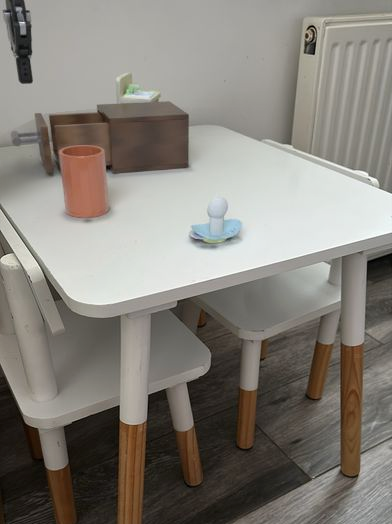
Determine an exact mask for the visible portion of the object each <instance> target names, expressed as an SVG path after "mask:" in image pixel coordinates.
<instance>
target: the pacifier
mask: <svg viewBox="0 0 392 524" xmlns="http://www.w3.org/2000/svg"><path fill="white" fill-rule="evenodd" d="M207 205H208V206H207V208H206V214H207V216H208V217H209V222H208V223H201V224H191V226H190V227H191V230H190V231H189V232H188V236H190V238H193V239H196V240H202V241H203V242H205V243H209V244H219V243H222V242H225V241H227V239H229V238H232V237H235V236H236V235H237V234H239V233H240V232H241V230H242V227H243V222H242V221H241V219H237V218H229V219H225V215H226V214H227V213H228V209H229V203H228V200H227V199H226V198H225V197H223V196H217V197H215V198H213V199H212V200H211V201H210V202H209V204H207Z"/></svg>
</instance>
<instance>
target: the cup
mask: <svg viewBox="0 0 392 524" xmlns="http://www.w3.org/2000/svg"><path fill="white" fill-rule="evenodd" d="M59 158H60V166H61V169H60V174H61V182H62V191H63V199H64V207H65V213H66V214H67V215H68V216H71V217H75V218H81V219H82V218H83V219H89V218H90V219H91V218H97V217H101V216H103V215H106V214H107V213H108V212H109V210H110V205H109V203H110V202H109V191H108V190H109V189H108V177H107V165H106V162H105V151H104V149H103V148H101V147H97V146H91V145H76V146H69V147H66V148H62V149H61V150H59Z"/></svg>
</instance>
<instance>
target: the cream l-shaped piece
mask: <svg viewBox="0 0 392 524" xmlns="http://www.w3.org/2000/svg"><path fill="white" fill-rule="evenodd" d="M115 89H116V91H115V92H116V104H121V103H143V102H160V101H159V100H160V98H161V95H162V94H161V93H162V92H160V91H157V90H153V89H152V90H151V89H150V90H143V89H141V88H140V85H139V84H133V76H132V73H131V72H124V73H123V74H120V75H119V76H117V77H116V80H115Z"/></svg>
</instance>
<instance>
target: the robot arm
mask: <svg viewBox="0 0 392 524" xmlns="http://www.w3.org/2000/svg"><path fill="white" fill-rule="evenodd" d="M2 17H3V22H4V23H5V28H6V33H7V39H8V41H9V43H10V50H11V51H12V55H13V57H14V59H15V67H16V72H17V78H18V82H19V83H20V84H21V85H28V84H33V81H34V77H33V71H32V63H31V59H32V56H33V45H32V42H33V37H32V27H33V26H32V15H31V10H29V9H27V8H26V2H25V0H5V9H2Z"/></svg>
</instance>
